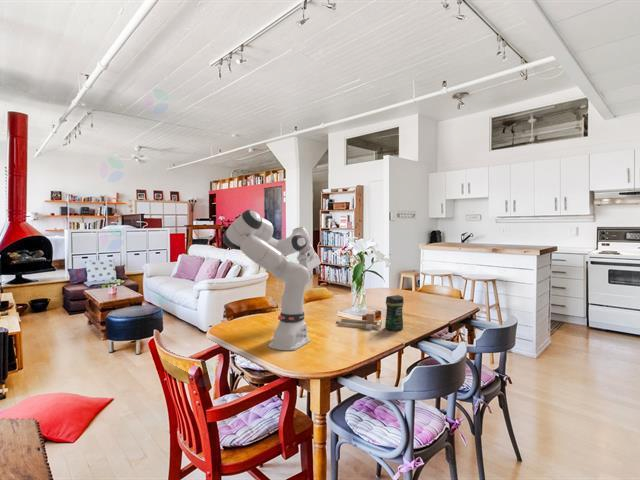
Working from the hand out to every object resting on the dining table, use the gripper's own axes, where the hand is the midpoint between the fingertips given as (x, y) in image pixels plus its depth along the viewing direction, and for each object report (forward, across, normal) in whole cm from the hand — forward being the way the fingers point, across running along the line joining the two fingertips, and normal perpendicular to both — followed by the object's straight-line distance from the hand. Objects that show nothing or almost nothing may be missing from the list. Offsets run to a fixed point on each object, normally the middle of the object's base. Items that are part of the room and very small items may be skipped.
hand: (315, 275), depth 212 cm
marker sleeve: (+36, +1, +23) cm, 43 cm away
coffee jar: (+41, 0, +35) cm, 54 cm away
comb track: (+34, +2, +16) cm, 38 cm away
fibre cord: (+34, +2, +15) cm, 37 cm away
